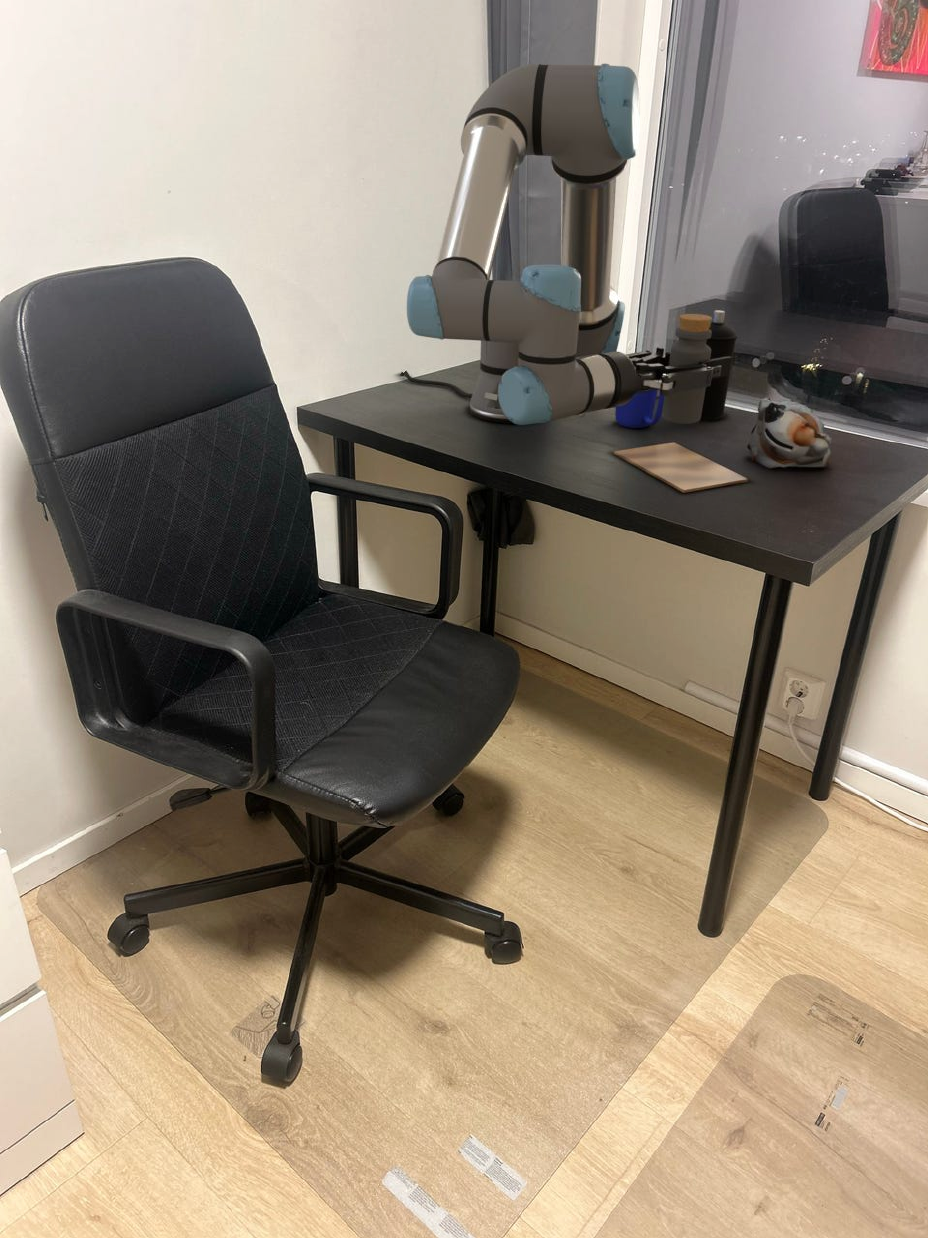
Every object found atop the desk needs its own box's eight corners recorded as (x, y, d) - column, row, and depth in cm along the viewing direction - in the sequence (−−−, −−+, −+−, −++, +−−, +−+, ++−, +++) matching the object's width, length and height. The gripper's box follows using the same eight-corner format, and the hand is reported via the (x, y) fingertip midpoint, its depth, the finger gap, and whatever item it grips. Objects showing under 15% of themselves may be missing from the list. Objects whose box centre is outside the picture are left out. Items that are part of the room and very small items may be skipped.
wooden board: (613, 453, 155) (614, 451, 155) (673, 444, 160) (674, 442, 160) (683, 492, 140) (684, 490, 139) (747, 481, 144) (748, 478, 144)
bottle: (653, 415, 135) (666, 314, 128) (680, 410, 138) (694, 311, 131) (681, 426, 131) (697, 322, 124) (708, 419, 134) (725, 318, 127)
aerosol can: (720, 409, 180) (737, 307, 170) (727, 421, 173) (745, 316, 163) (680, 407, 180) (694, 306, 171) (684, 419, 173) (700, 314, 163)
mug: (641, 439, 162) (647, 385, 157) (603, 421, 172) (608, 369, 167) (675, 433, 166) (683, 380, 161) (636, 416, 175) (642, 365, 170)
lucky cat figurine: (843, 464, 152) (864, 405, 141) (795, 502, 149) (812, 445, 138) (775, 419, 159) (789, 360, 148) (728, 455, 157) (739, 397, 145)
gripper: (553, 393, 130) (663, 372, 142) (644, 426, 117) (757, 400, 129) (557, 341, 126) (669, 324, 138) (651, 369, 113) (767, 348, 125)
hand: (711, 361), depth 133 cm, fingers closed on bottle, 6 cm apart
